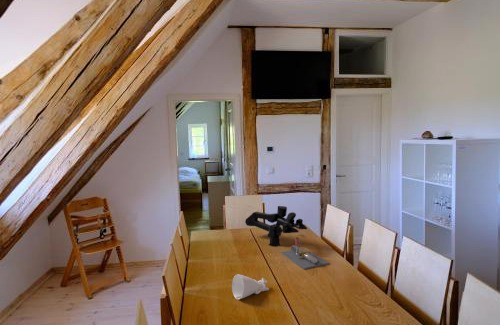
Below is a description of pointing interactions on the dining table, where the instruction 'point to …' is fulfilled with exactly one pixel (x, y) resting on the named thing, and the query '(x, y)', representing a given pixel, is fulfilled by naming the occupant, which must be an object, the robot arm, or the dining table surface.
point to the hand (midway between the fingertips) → (302, 230)
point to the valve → (305, 255)
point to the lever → (297, 247)
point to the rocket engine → (247, 286)
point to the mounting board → (304, 260)
